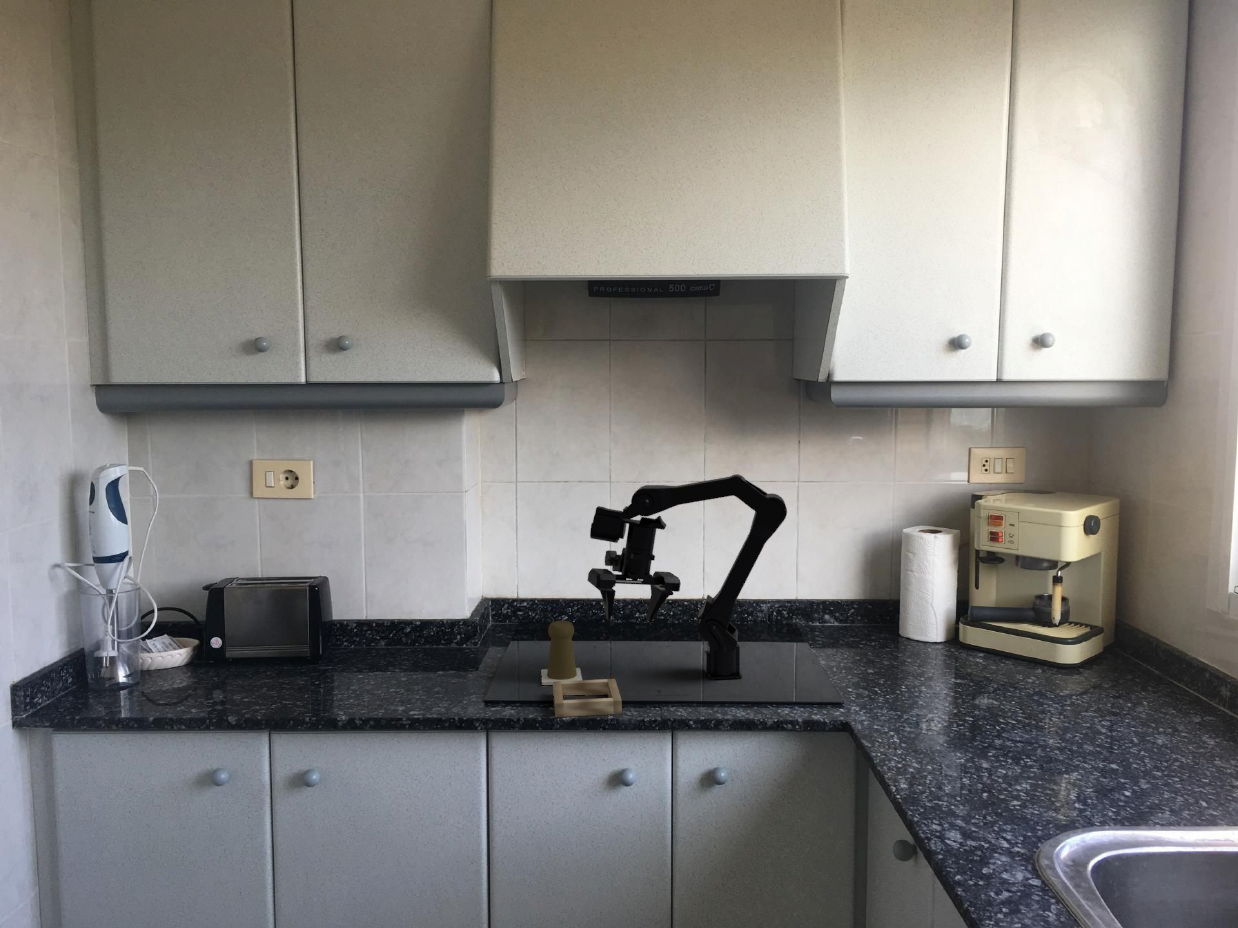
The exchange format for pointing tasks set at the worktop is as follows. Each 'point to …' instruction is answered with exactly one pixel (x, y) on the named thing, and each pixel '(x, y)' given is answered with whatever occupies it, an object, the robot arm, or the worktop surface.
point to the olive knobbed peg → (561, 651)
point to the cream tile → (549, 681)
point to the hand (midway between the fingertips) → (628, 620)
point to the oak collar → (587, 705)
